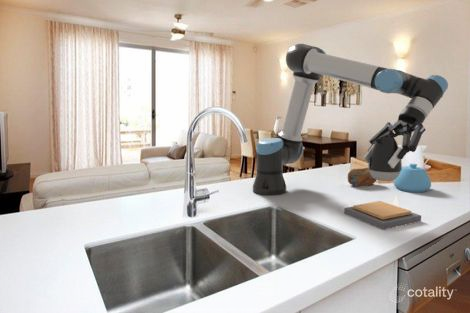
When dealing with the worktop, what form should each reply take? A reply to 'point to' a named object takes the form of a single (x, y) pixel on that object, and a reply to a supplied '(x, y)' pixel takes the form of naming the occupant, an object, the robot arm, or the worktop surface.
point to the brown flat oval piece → (360, 177)
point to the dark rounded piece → (384, 159)
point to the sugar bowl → (413, 179)
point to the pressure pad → (382, 210)
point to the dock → (379, 222)
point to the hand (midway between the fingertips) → (377, 163)
